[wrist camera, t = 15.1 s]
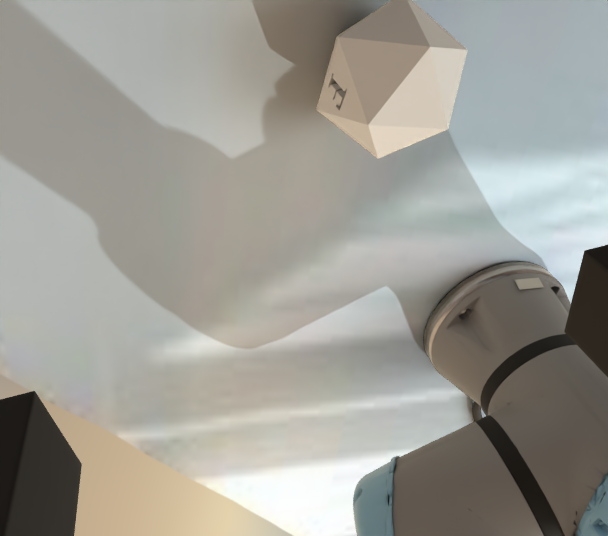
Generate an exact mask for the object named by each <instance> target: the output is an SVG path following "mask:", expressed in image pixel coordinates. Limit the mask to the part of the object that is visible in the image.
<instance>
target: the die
mask: <svg viewBox="0 0 608 536" xmlns="http://www.w3.org/2000/svg"><path fill="white" fill-rule="evenodd" d="M466 54H467V49H466V48H465V47H464V46H463V45H461V44H460V43H459V42H458V41H457V40H456V39H455V38H454V37H453V36H451V35H450V34H449V33H448V32H447V31H446V30H445V29H444V28H442V27H441V26H440V25H439V24H438V23H437V22H436V21H435V20H434V19H432V18H431V17H430V16H429V15H428V14H427V13H426V12H425V11H423V10H422V9H421V8H420V7H419V6H418V5H417V4H416V3H415V2H413V1H412V0H391V1H389V2H388V3H386V4H385V5H383V6H382V7H380V8H379V9H377V10H376V11H374V12H373V13H371V14H370V15H368V16H367V17H365V18H363V19H362V20H360V21H359V22H357V23H356V24H354V25H353V26H351V27H350V28H348V29H347V30H345V31H344V32H342V33H341V34H339V35H337V36H336V40H335V44H334V47H333V51H332V54H331V58H330V62H329V65H328V69H327V72H326V76H325V80H324V83H323V87H322V90H321V94H320V98H319V101H318V105H317V108H316V110H317V111H318V112H320V113H321V114H322V115H323V116H325V117H326V118H327V119H329V120H330V121H331V122H332V123H334V124H335V125H336V126H337V127H339V128H340V129H341V130H342V131H344V132H345V133H346V134H347V135H349V136H350V137H351V138H352V139H354V140H355V141H356V142H358V143H359V144H360V145H361V146H363V147H364V148H365V149H366V150H368V151H369V152H370V153H371V154H373V155H374V156H375V157H376V158H378V159H379V158H381V157H383V156H386V155H388V154H390V153H393V152H395V151H398V150H400V149H402V148H405V147H407V146H409V145H412V144H414V143H417V142H419V141H421V140H424V139H426V138H428V137H431V136H433V135H435V134H438V133H440V132H443V131H445V130H447V129H448V127H449V123H450V119H451V115H452V111H453V107H454V103H455V99H456V95H457V91H458V87H459V83H460V79H461V75H462V71H463V67H464V63H465V59H466Z"/></svg>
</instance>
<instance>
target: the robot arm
mask: <svg viewBox="0 0 608 536" xmlns="http://www.w3.org/2000/svg"><path fill="white" fill-rule="evenodd" d="M424 348H425V352H426V354H427V356H428V357H429V359H430V361H431V362H432V364H433V366H434V367H435V369H436V370H437V371H438V372H439V373H440V374H441V375H442V376H443V377H445V378H446V379H447V380H449V381H450V382H451V383H452V384H454V385H455V386H456V387H457V388H459V389H460V390H461V391H462V392H464V393H465V394H466V395H467V396H469V397H470V398H471V399H472V400H474V404H473V417H474V420H475V422H473V423H471V424H469V425H467V426H465V427H463V428H461V429H459V430H457V431H455V432H453V433H450V434H448V435H446V436H444V437H442V438H440V439H438V440H435V441H433V442H431V443H429V444H427V445H425V446H423V447H421V448H418V449H416V450H414V451H412V452H410V453H408V454H406V455H404V456H401V457H399V456H396V457H394V458H392V459H391V462H389V463H387V464H386V465H384V466H382V467H380V468H378V469H376V470H375V471H373V472H371V473H369V474H367V475H365V476H364V477H363V478H362V479H361V480H360V481H359V482H358V484H357V486H356V488H355V492H354V497H353V510H354V520H355V526H356V532H357V536H608V245H605V246H601V247H597V248H594V249H590V250H586V251H584V255H583V259H582V263H581V267H580V271H579V275H578V279H577V283H576V287H575V291H574V295H573V299H572V303H571V304H570V302H569V299H568V297H567V295H566V293H565V290H564V288H563V287H562V285H561V284H560V283H559V282H558V281H557V280H556V279H555V278H554V277H553V276H552V275H551V274H550V273H549V272H548V271H547V270H546V269H544V268H543V267H541V266H539V265H536V264H533V263H528V262H509V263H504V264H499V265H496V266H492V267H490V268H487V269H485V270H482V271H480V272H478V273H476V274H474V275H472V276H471V277H469V278H467V279H466V280H464V281H463V282H461V283H460V284H459V285H457V286H456V287H455V288H454V289H452V290H451V291H450V292H449V293H448V294H447V295H446V296H445V297H444V298H443V299H442V300H441V302H440V303H439V304H438V305H437V307H436V308H435V310H434V311H433V313H432V314H431V316H430V318H429V320H428V322H427V325H426V328H425V332H424ZM481 408H482V410H483V411H484V413H485V414H486V417H484V418H482V415H481ZM80 474H81V462H80V461H79V459H78V458H77V457H76V455H75V453H74V452H73V450H72V448H71V447H70V445H69V444H68V442H67V441H66V439H65V438H64V436H63V435H62V433H61V432H60V430H59V428H58V427H57V425H56V423H55V422H54V420H53V419H52V417H51V416H50V414H49V413H48V411H47V409H46V408H45V406H44V405H43V403H42V402H41V400H40V399H39V397H38V395H37V394H36V392H35V391H33V392H29V393H25V394H21V395H17V396H13V397H9V398H5V399H1V400H0V536H74V531H75V530H74V529H75V521H76V512H77V502H78V493H79V484H80Z"/></svg>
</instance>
